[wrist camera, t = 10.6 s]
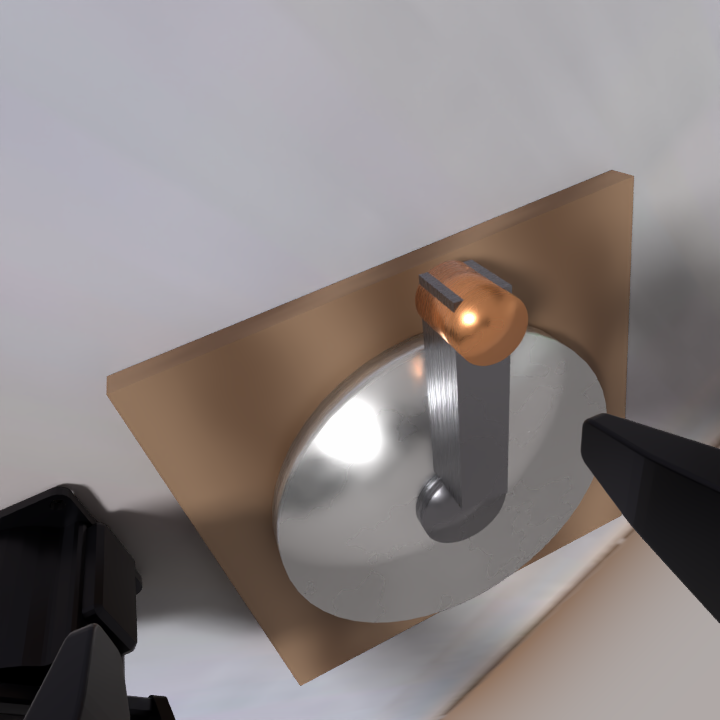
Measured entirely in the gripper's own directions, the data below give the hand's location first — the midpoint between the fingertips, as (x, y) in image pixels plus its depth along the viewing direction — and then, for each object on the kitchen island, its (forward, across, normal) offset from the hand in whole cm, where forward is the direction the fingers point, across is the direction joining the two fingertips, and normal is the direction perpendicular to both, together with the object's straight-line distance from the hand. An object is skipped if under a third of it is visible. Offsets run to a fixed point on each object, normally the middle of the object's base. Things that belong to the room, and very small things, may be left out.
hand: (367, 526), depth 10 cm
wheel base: (+12, -6, +12) cm, 18 cm away
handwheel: (+10, -6, +10) cm, 16 cm away
